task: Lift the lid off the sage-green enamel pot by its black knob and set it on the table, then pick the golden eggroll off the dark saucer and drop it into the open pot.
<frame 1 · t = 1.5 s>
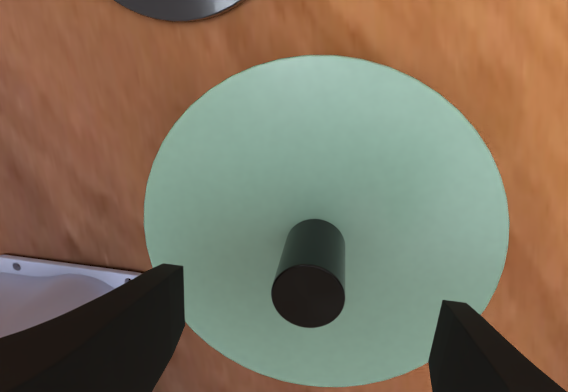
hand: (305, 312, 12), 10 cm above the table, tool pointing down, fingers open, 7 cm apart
lid: (316, 239, 16), point 5 cm above the table, touching pot
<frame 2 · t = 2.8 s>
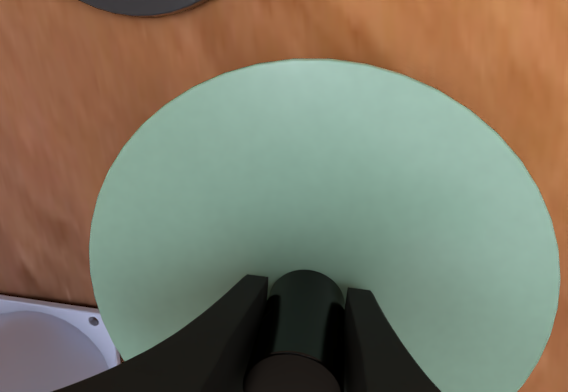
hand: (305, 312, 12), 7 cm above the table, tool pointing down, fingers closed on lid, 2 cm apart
lid: (307, 292, 13), point 6 cm above the table, touching gripper, pot
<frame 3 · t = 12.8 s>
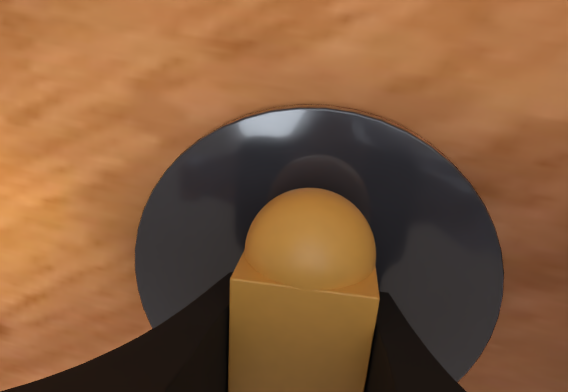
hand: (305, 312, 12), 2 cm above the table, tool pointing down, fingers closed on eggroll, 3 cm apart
eggroll: (307, 292, 13), point 1 cm above the table, touching gripper, saucer
saucer: (309, 281, 13), on the table
when the fingers open (1 cm above the table, at t = 17.9 s): eggroll stays where it is, resting on pot.
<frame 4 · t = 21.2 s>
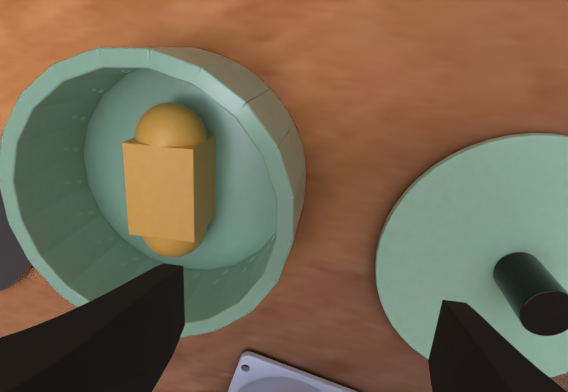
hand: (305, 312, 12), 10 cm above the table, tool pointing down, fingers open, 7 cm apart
eggroll: (185, 173, 21), resting on pot
pot: (188, 171, 22), on the table
lid: (513, 266, 21), point 1 cm above the table
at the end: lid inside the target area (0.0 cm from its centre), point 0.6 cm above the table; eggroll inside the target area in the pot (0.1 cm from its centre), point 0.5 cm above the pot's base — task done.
